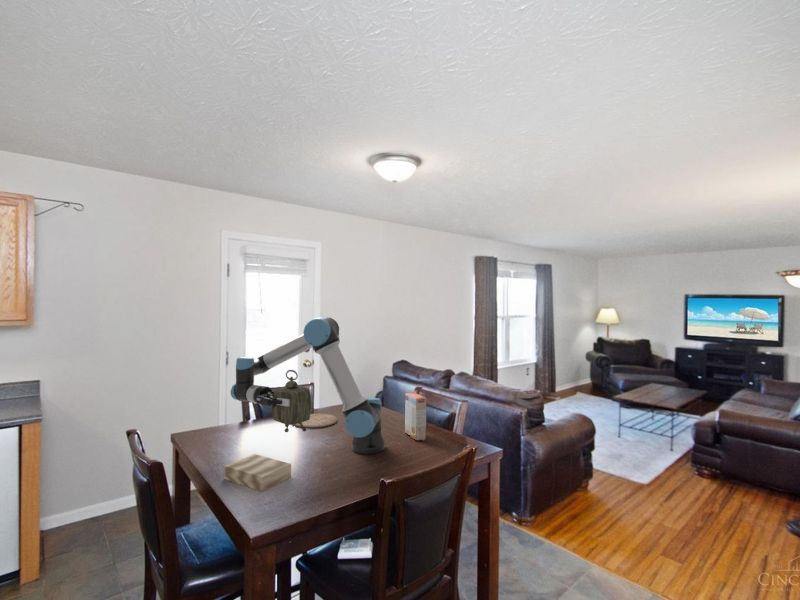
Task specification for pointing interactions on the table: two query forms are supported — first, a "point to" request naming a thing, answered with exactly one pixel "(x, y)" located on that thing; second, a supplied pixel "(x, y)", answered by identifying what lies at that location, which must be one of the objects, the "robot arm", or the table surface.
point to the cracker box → (415, 415)
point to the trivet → (318, 421)
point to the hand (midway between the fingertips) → (298, 400)
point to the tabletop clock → (292, 404)
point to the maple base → (257, 472)
